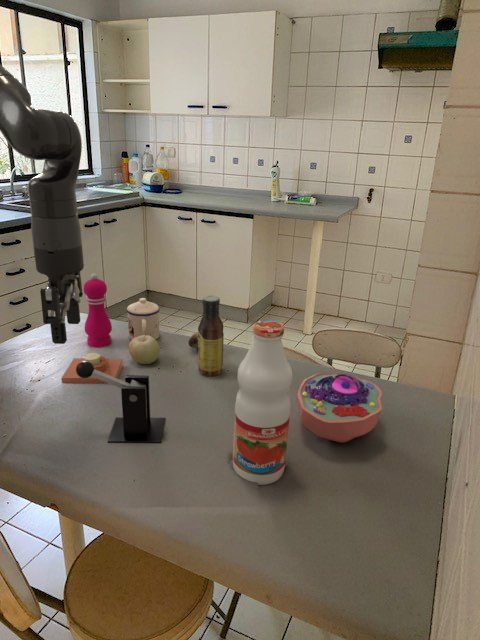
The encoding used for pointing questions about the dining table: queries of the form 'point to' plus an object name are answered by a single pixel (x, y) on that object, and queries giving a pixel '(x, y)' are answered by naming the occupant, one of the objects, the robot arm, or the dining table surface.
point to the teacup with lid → (143, 319)
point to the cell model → (339, 405)
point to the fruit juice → (262, 407)
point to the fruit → (144, 349)
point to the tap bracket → (136, 415)
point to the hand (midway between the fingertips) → (67, 332)
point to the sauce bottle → (210, 338)
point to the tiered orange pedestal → (105, 366)
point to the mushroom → (194, 341)
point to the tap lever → (101, 375)
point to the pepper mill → (97, 313)
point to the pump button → (93, 358)
